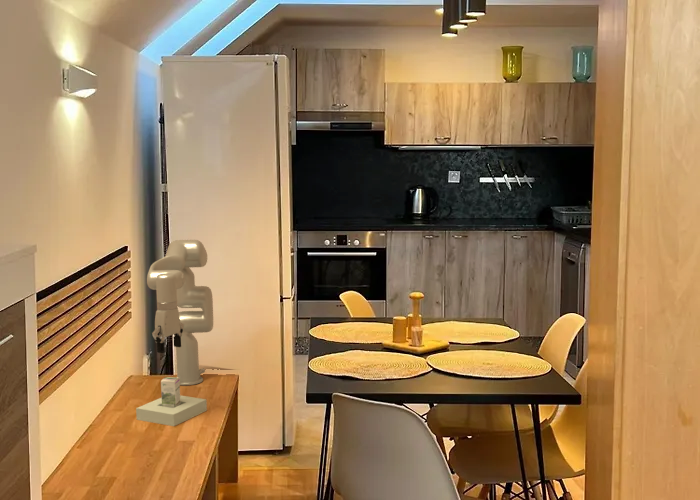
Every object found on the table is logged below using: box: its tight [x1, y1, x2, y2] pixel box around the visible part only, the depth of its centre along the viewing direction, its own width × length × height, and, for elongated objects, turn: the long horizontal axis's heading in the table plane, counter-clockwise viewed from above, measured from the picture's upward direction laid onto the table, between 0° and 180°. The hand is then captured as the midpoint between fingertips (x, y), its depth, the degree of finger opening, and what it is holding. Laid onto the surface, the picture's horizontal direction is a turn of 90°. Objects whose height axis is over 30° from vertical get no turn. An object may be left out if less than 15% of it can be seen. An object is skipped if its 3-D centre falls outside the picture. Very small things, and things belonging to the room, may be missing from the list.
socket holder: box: [135, 394, 208, 427], centre depth 315 cm, size 20×18×4 cm
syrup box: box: [160, 376, 181, 408], centre depth 314 cm, size 6×6×14 cm
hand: (169, 349), depth 312 cm, fingers open, 9 cm apart
